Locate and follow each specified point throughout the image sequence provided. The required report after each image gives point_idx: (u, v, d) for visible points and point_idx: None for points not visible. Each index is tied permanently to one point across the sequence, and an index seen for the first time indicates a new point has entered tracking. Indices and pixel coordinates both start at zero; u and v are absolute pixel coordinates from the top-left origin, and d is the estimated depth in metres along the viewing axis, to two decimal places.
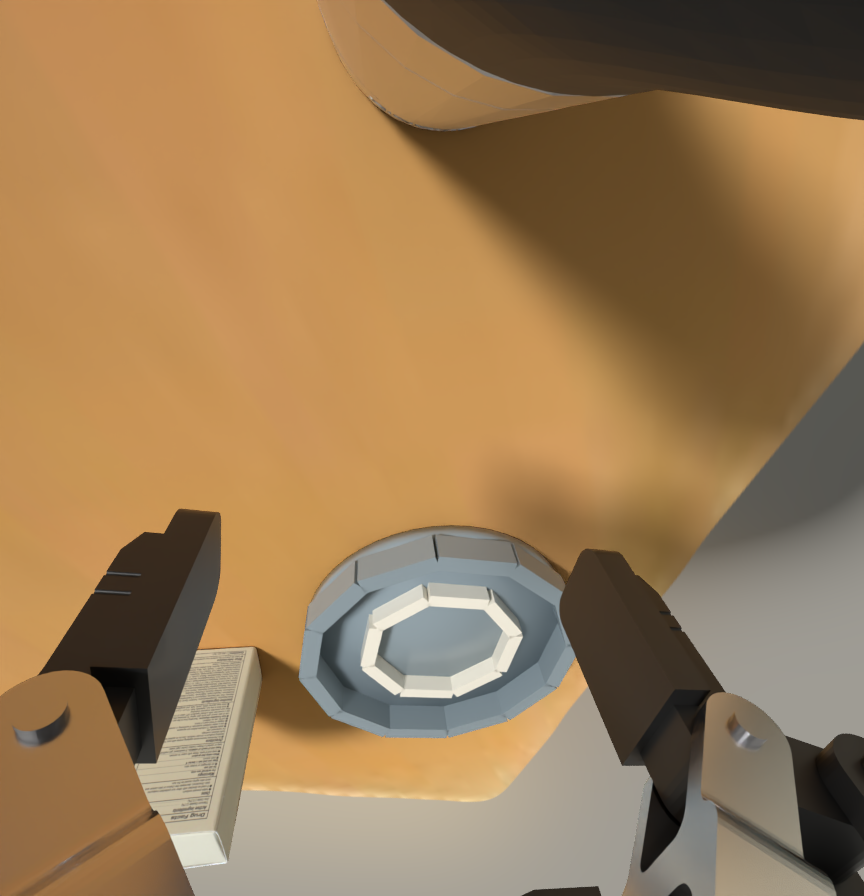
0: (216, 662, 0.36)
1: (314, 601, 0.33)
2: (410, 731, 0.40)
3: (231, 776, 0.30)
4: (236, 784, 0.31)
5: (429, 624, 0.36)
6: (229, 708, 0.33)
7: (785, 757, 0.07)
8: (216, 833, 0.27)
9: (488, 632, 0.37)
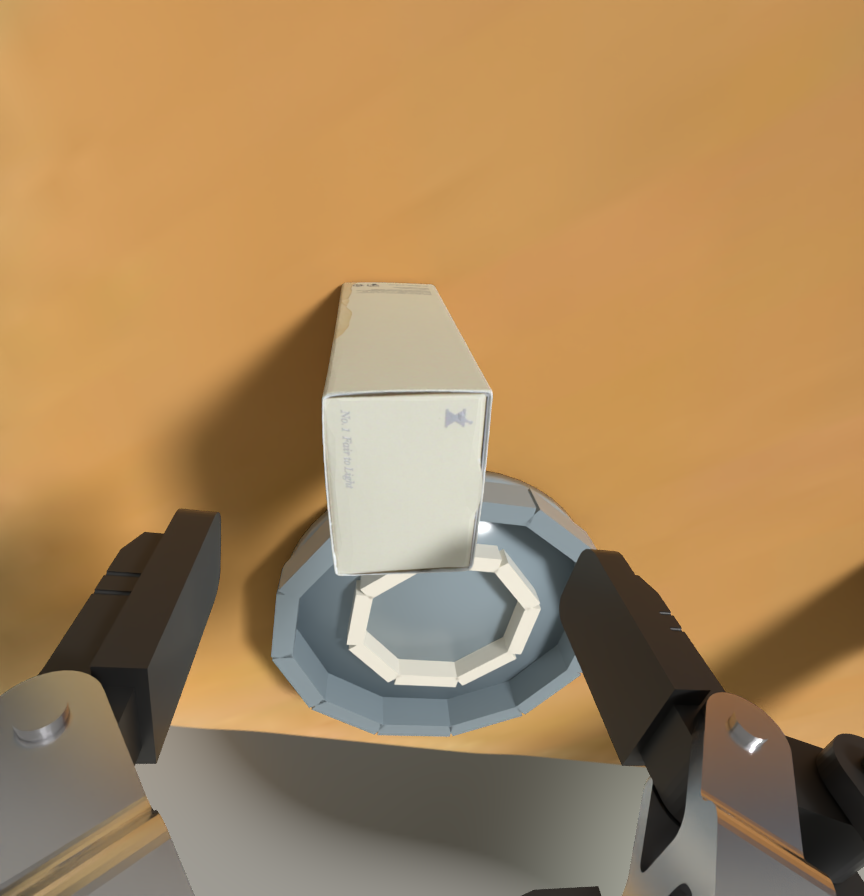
0: None
1: (538, 496, 0.27)
2: (291, 620, 0.27)
3: None
4: None
5: (466, 600, 0.31)
6: None
7: (785, 757, 0.07)
8: (456, 568, 0.15)
9: (442, 650, 0.33)
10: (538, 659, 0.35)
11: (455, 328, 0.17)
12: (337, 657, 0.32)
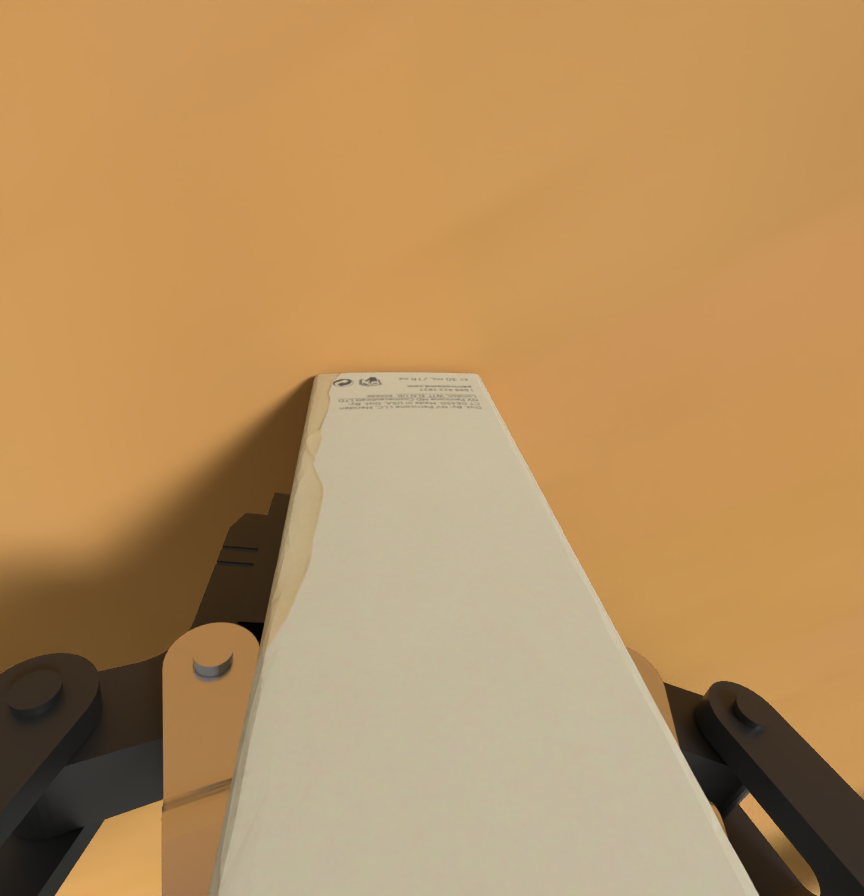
0: None
1: None
2: None
3: None
4: None
5: None
6: None
7: (657, 699, 0.08)
8: None
9: None
10: None
11: (570, 555, 0.07)
12: None
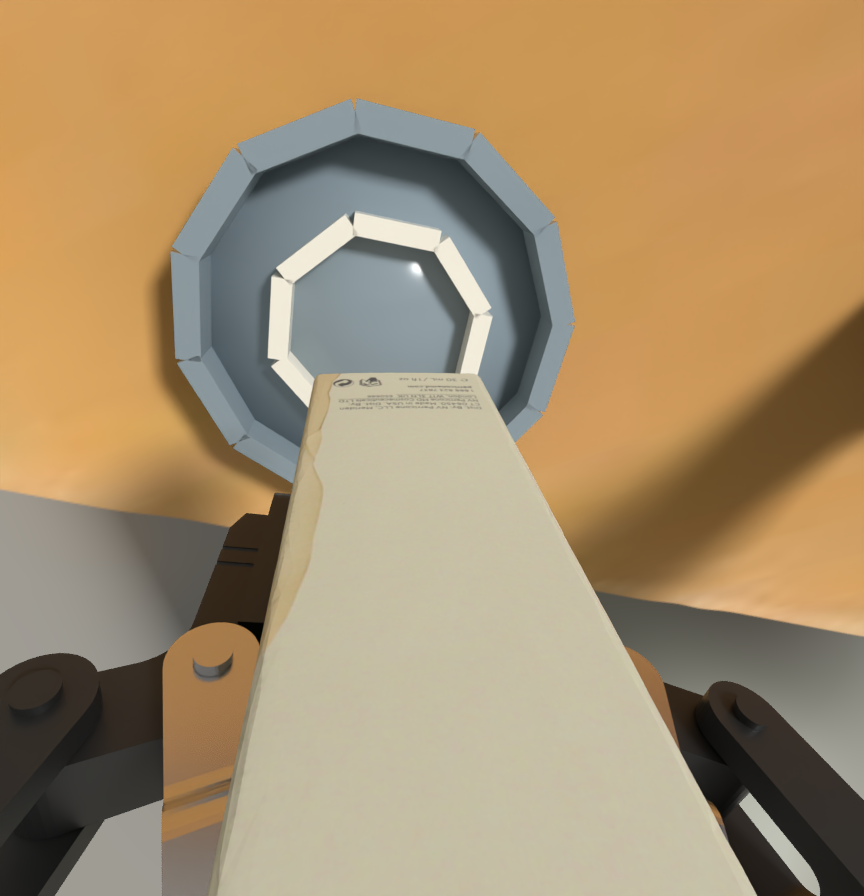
0: None
1: None
2: (193, 297, 0.23)
3: None
4: None
5: (408, 315, 0.27)
6: None
7: (657, 699, 0.08)
8: None
9: None
10: None
11: (570, 555, 0.07)
12: (263, 395, 0.28)
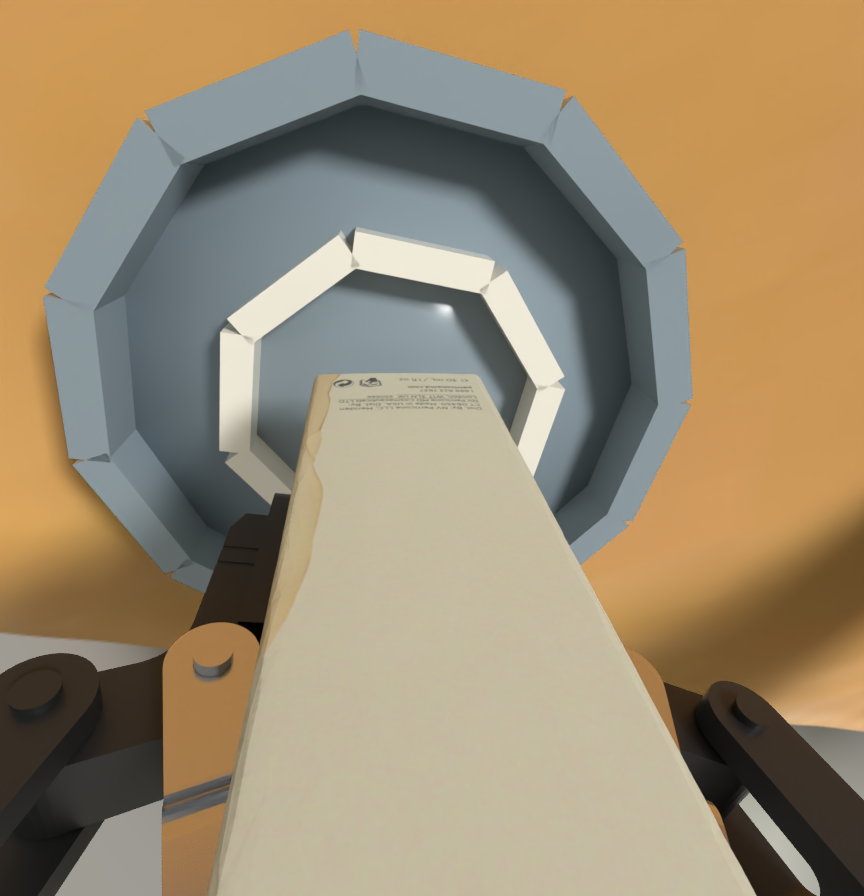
0: None
1: None
2: (88, 367, 0.14)
3: None
4: None
5: None
6: None
7: (657, 699, 0.08)
8: None
9: None
10: (555, 515, 0.21)
11: (570, 556, 0.07)
12: (218, 495, 0.19)
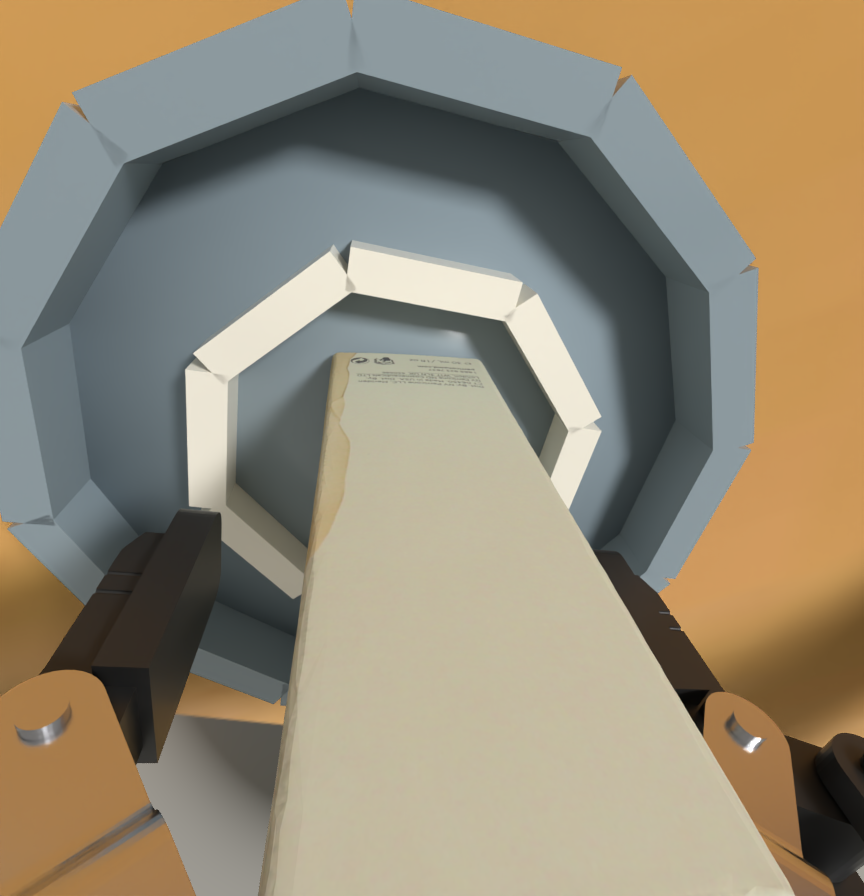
0: None
1: None
2: (20, 416, 0.11)
3: None
4: None
5: None
6: None
7: (784, 756, 0.07)
8: None
9: None
10: None
11: (559, 500, 0.08)
12: None
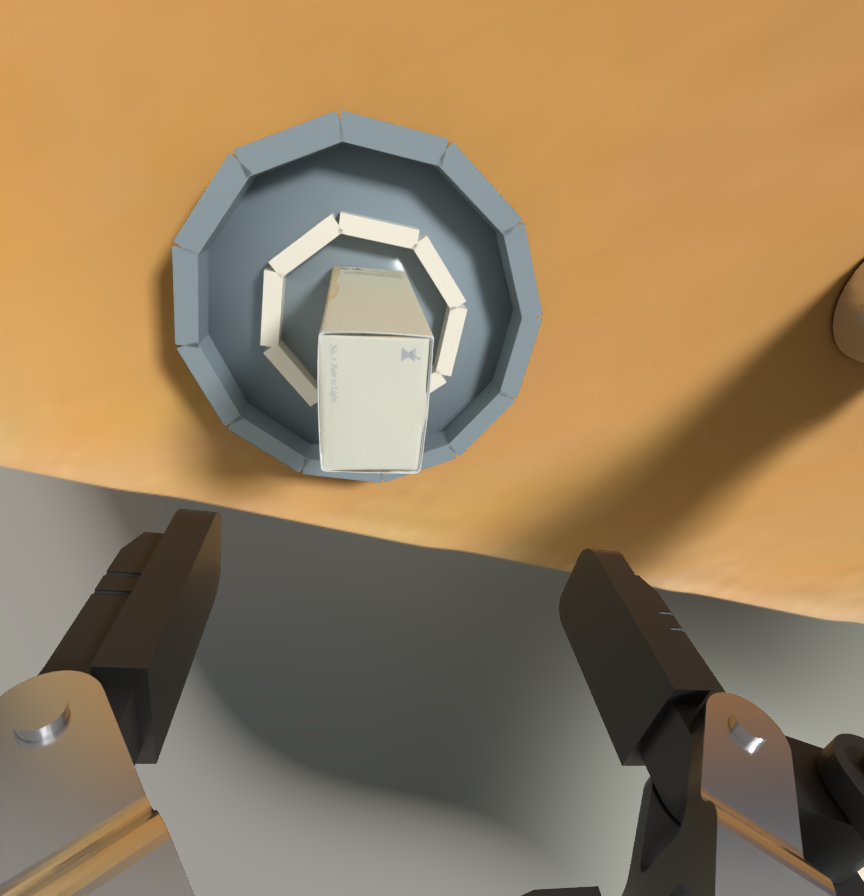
0: None
1: None
2: (192, 288, 0.26)
3: None
4: None
5: None
6: None
7: (785, 757, 0.07)
8: (409, 471, 0.21)
9: None
10: (473, 402, 0.33)
11: (416, 300, 0.22)
12: (256, 381, 0.30)
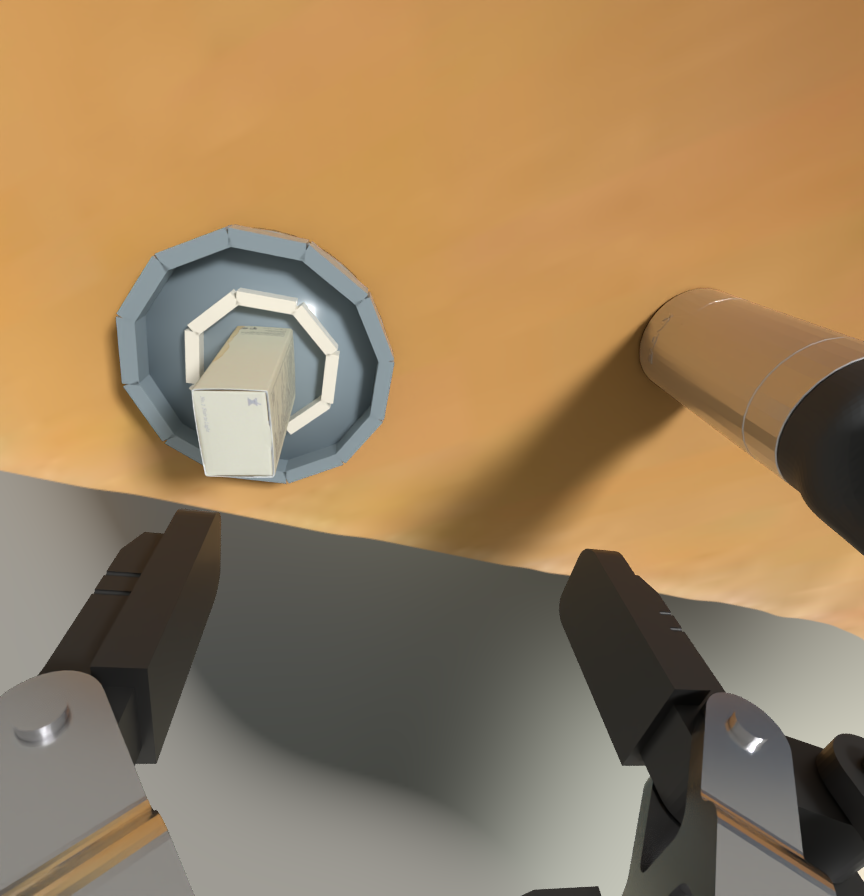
0: (293, 375, 0.39)
1: (319, 248, 0.36)
2: (131, 344, 0.36)
3: None
4: None
5: None
6: (288, 415, 0.37)
7: (785, 757, 0.07)
8: (266, 476, 0.31)
9: None
10: (357, 421, 0.43)
11: (278, 358, 0.33)
12: (187, 407, 0.41)
